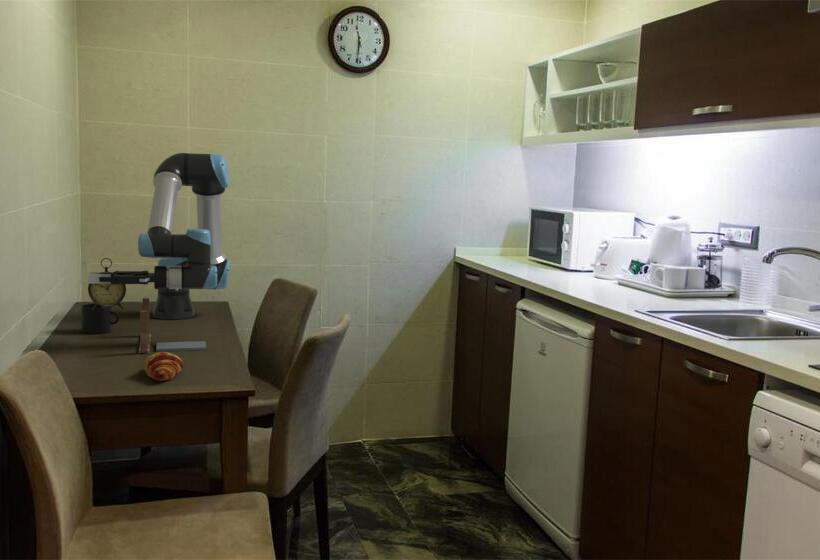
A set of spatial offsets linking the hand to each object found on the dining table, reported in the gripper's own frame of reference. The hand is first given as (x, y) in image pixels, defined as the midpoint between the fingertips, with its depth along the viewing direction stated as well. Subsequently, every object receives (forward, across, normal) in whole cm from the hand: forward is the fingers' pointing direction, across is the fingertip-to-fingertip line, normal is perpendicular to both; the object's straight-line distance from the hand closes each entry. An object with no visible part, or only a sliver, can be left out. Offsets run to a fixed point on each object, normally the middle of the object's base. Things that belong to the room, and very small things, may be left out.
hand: (88, 277), depth 234 cm
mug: (-1, +22, -22) cm, 31 cm away
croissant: (-22, -38, -22) cm, 49 cm away
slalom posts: (-16, 0, -22) cm, 27 cm away
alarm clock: (-5, 0, -10) cm, 11 cm away
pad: (-27, -6, -22) cm, 35 cm away
